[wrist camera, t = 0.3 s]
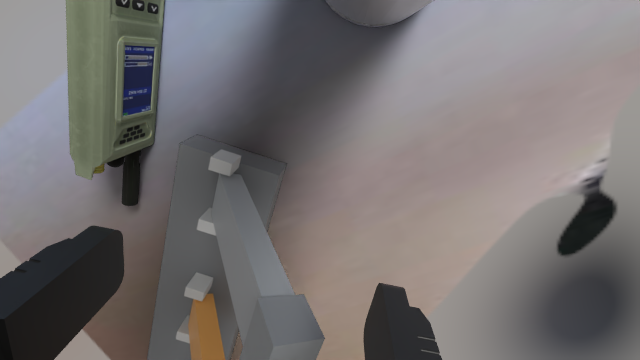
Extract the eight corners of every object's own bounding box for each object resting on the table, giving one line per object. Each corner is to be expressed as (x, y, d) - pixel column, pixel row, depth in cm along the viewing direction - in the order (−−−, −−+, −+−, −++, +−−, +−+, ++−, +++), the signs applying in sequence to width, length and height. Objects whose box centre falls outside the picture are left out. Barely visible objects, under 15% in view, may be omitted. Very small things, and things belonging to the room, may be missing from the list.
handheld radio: (183, -124, 22) (156, 203, 31) (137, -137, 22) (123, 193, 31) (111, -197, 16) (103, 239, 25) (46, -214, 16) (63, 226, 25)
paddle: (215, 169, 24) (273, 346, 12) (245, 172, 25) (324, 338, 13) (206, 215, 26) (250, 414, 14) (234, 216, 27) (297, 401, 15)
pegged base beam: (198, 127, 28) (167, 142, 23) (288, 157, 28) (275, 178, 23) (157, 368, 39) (130, 411, 34) (222, 388, 39) (204, 433, 34)
